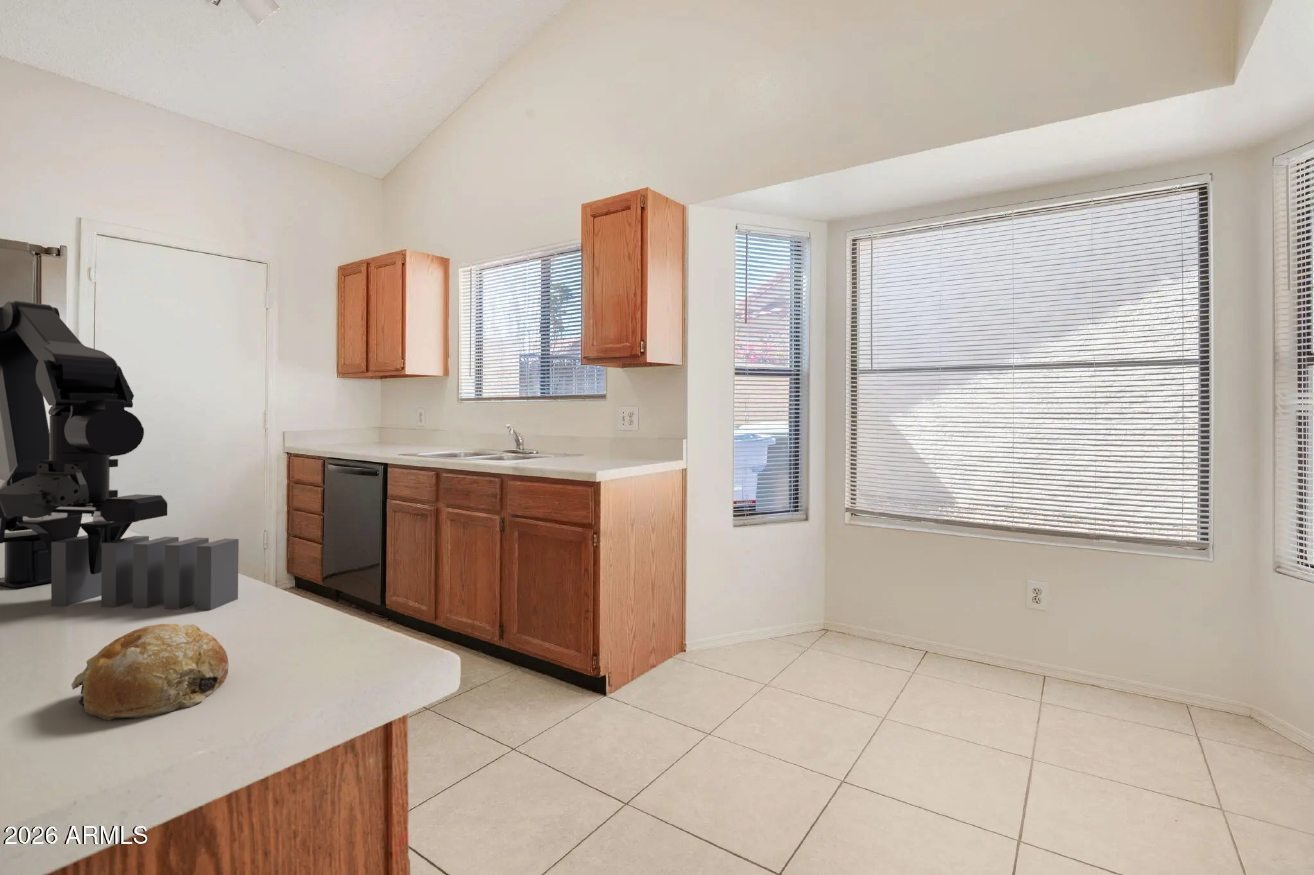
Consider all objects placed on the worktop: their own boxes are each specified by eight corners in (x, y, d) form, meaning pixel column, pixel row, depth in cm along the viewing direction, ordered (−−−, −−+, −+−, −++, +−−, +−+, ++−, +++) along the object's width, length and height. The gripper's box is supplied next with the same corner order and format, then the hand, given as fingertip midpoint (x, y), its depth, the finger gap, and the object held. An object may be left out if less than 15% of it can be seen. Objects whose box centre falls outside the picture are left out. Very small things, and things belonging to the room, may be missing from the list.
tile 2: (101, 606, 79) (101, 543, 79) (135, 595, 84) (135, 535, 84) (115, 607, 79) (115, 543, 79) (148, 596, 84) (148, 536, 84)
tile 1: (51, 605, 79) (51, 542, 78) (88, 594, 84) (88, 534, 83) (65, 606, 79) (65, 542, 78) (101, 595, 84) (101, 535, 83)
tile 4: (164, 608, 79) (165, 544, 78) (194, 597, 84) (195, 537, 83) (178, 609, 79) (179, 545, 78) (208, 598, 84) (208, 538, 83)
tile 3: (132, 607, 79) (133, 544, 78) (164, 596, 84) (165, 536, 83) (147, 608, 79) (147, 544, 78) (178, 597, 84) (178, 537, 83)
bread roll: (141, 770, 50) (184, 681, 50) (26, 711, 50) (69, 622, 50) (228, 713, 60) (265, 638, 60) (132, 663, 60) (168, 589, 60)
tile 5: (196, 609, 79) (196, 545, 78) (224, 598, 84) (225, 538, 83) (210, 610, 79) (211, 546, 78) (237, 599, 84) (238, 538, 83)
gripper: (-65, 453, 73) (-65, 587, 73) (95, 457, 73) (94, 592, 73) (32, 448, 84) (32, 565, 84) (171, 453, 84) (170, 569, 84)
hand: (79, 573), depth 81 cm, fingers open, 4 cm apart
